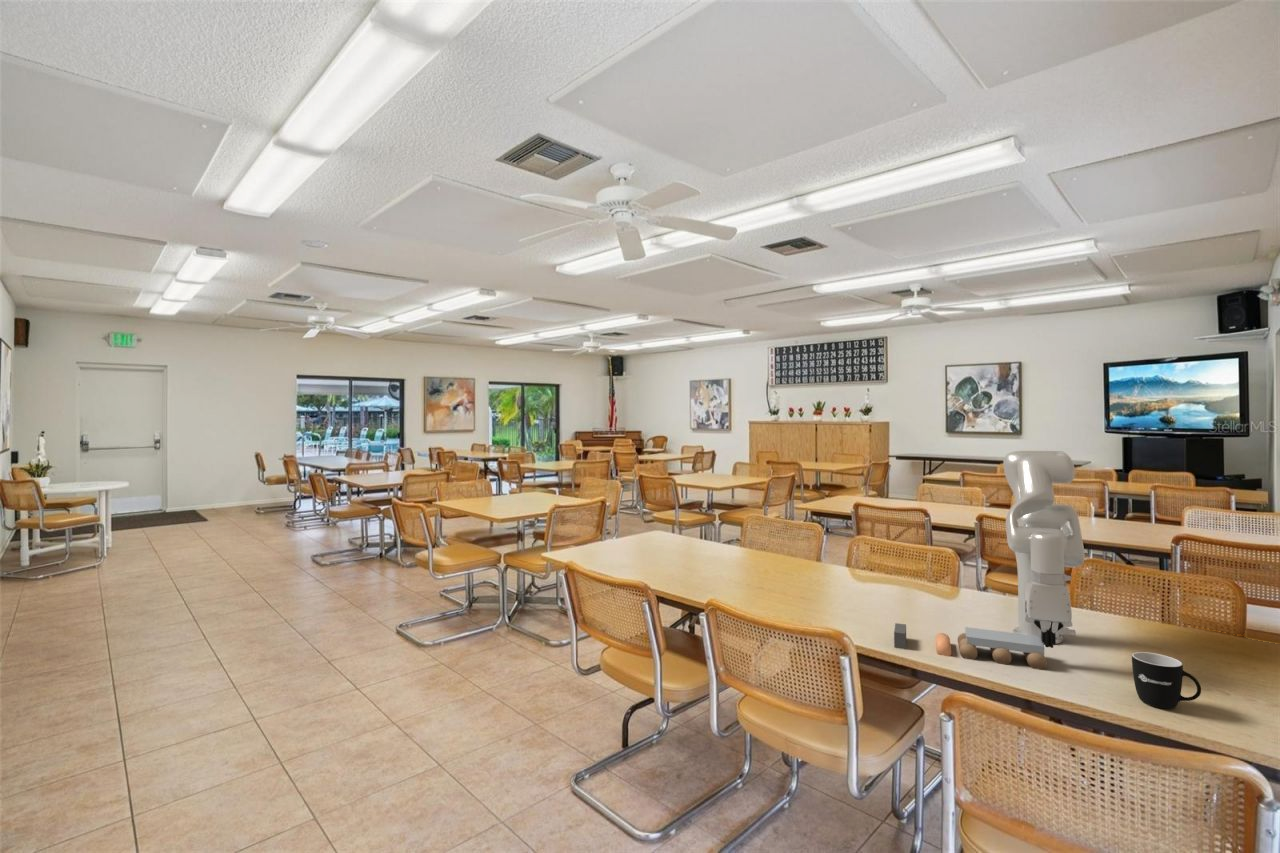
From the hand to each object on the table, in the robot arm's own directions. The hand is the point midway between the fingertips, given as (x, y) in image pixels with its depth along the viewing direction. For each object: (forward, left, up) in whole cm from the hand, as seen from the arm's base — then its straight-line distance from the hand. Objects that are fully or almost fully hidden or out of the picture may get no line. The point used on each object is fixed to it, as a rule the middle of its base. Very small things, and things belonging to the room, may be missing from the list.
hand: (1048, 645), depth 161 cm
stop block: (+37, 0, -5) cm, 37 cm away
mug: (-20, +17, -5) cm, 27 cm away
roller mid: (+11, 0, -3) cm, 12 cm away
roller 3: (+3, 0, -3) cm, 5 cm away
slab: (+11, 0, -1) cm, 11 cm away
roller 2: (+19, 0, -3) cm, 20 cm away
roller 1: (+26, 0, -5) cm, 27 cm away
